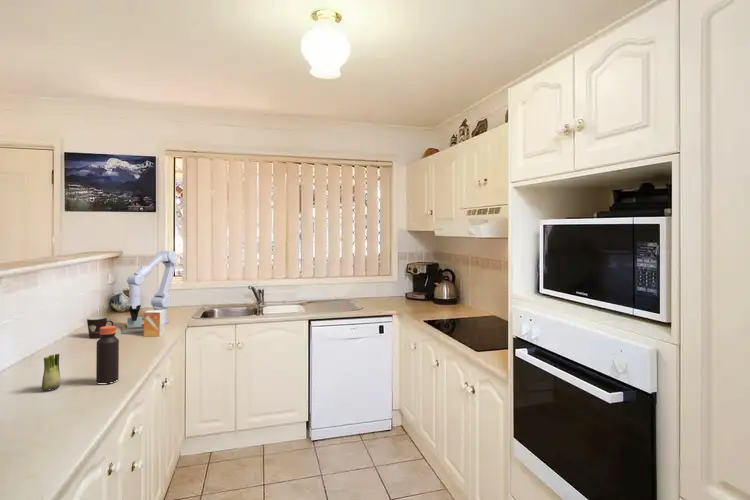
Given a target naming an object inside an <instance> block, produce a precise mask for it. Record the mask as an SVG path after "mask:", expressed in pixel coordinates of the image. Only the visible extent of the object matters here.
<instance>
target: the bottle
mask: <svg viewBox="0 0 750 500" xmlns="http://www.w3.org/2000/svg"><path fill="white" fill-rule="evenodd" d="M116 333H117V327H116V325H113V326H112V325H106V326H104V327H101V328H100V336H101V338H98V340H97V341H96V356H95V357H96V362H95V363H96V364H95V365H96V369H95V371H96V373H95V374H96V375H95V376H96V377H95V378H96V382H97V383H110V382H114V381H116V380H118V381H119V377H120V376H119V372H120V371H119V369H120V368H119V367H120V366H119V363H120V361H119V358H120V356H119V355H120V354H119V353H120V352H119V351H120V349H119V348H120V347H119V346H120V340H119V338H118V337H116V336H115V335H116ZM96 382H95V383H96ZM97 383H96V384H97Z"/></svg>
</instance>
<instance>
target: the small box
mask: <svg viewBox="0 0 750 500" xmlns="http://www.w3.org/2000/svg"><path fill="white" fill-rule="evenodd" d="M143 324H144V332H143V337H146V338H147V337H149V338H150V337H151V338H152V337H155V338H157V337H158V338H159V337H162V336H163V335H164V334H165V323H164V310H154V309H153V310H151V309H150V310H146V311H145V312H143Z"/></svg>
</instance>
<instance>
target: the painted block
mask: <svg viewBox="0 0 750 500" xmlns="http://www.w3.org/2000/svg"><path fill="white" fill-rule="evenodd" d="M126 322H127V323H126V325H127V328H128V327H142V324H143V316H138V317H137V320H136V321H132V319H131V317H127V321H126Z"/></svg>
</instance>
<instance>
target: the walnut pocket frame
mask: <svg viewBox="0 0 750 500" xmlns="http://www.w3.org/2000/svg"><path fill="white" fill-rule="evenodd" d="M143 328H144V323H142V327H128V328H127V324H124V325H122V327H121V331H122V330H129V329H143Z"/></svg>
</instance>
